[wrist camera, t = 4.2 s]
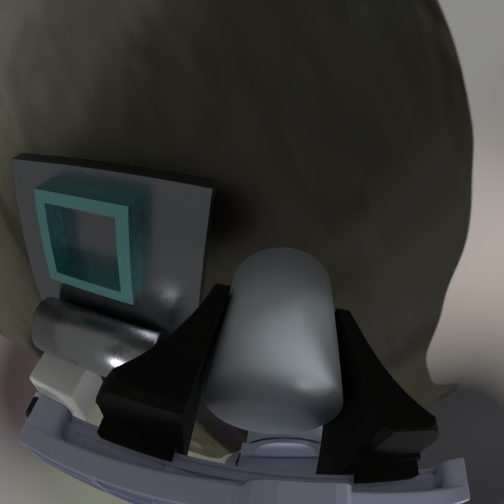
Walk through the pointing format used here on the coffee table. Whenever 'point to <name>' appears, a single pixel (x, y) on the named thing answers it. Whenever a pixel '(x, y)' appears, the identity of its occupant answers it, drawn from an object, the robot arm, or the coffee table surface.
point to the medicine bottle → (65, 385)
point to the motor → (111, 254)
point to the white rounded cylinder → (277, 347)
